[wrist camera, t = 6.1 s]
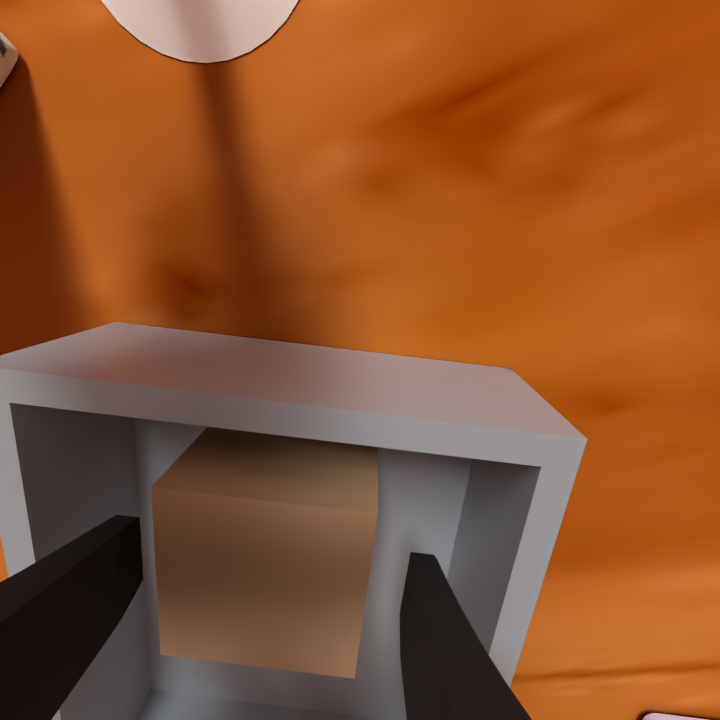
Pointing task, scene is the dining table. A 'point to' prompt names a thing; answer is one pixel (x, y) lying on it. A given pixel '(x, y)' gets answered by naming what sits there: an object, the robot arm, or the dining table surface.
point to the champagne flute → (201, 25)
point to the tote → (295, 419)
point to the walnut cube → (265, 550)
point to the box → (6, 58)
